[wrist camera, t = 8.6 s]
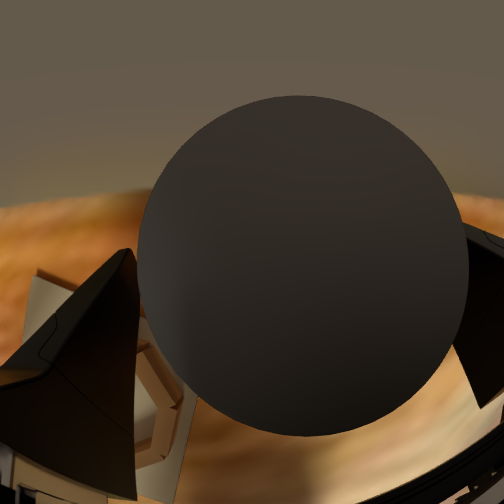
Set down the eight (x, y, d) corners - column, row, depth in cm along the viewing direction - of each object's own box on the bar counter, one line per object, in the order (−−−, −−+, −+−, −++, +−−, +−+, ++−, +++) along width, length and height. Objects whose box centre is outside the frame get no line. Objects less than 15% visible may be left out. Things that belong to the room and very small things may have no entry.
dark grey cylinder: (313, 257, 17) (468, 157, 4) (293, 341, 16) (428, 439, 3) (229, 236, 17) (204, 70, 4) (207, 320, 16) (102, 382, 3)
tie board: (212, 338, 16) (207, 344, 13) (173, 501, 14) (166, 521, 11) (37, 275, 16) (15, 271, 14) (24, 429, 14) (6, 438, 11)
